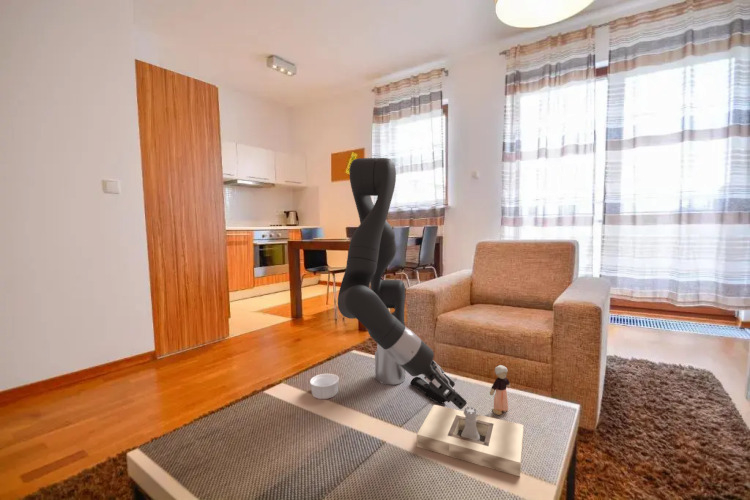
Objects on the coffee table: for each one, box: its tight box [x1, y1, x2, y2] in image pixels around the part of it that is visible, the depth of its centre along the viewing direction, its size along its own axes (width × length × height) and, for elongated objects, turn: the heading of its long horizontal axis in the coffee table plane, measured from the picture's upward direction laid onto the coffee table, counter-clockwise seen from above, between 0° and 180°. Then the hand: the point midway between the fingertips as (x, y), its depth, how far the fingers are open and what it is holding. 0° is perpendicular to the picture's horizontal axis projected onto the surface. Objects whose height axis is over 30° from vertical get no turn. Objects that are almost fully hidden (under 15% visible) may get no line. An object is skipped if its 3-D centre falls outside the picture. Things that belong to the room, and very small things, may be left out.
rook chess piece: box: [460, 406, 481, 441], centre depth 79 cm, size 4×4×8 cm
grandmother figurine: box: [489, 364, 512, 416], centre depth 92 cm, size 8×4×13 cm, turn 131°
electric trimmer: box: [410, 376, 447, 404], centre depth 102 cm, size 4×16×3 cm, turn 27°
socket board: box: [416, 404, 524, 477], centre depth 79 cm, size 22×14×3 cm, turn 64°
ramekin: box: [309, 373, 340, 400], centre depth 103 cm, size 9×9×4 cm
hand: (457, 395), depth 78 cm, fingers open, 8 cm apart
